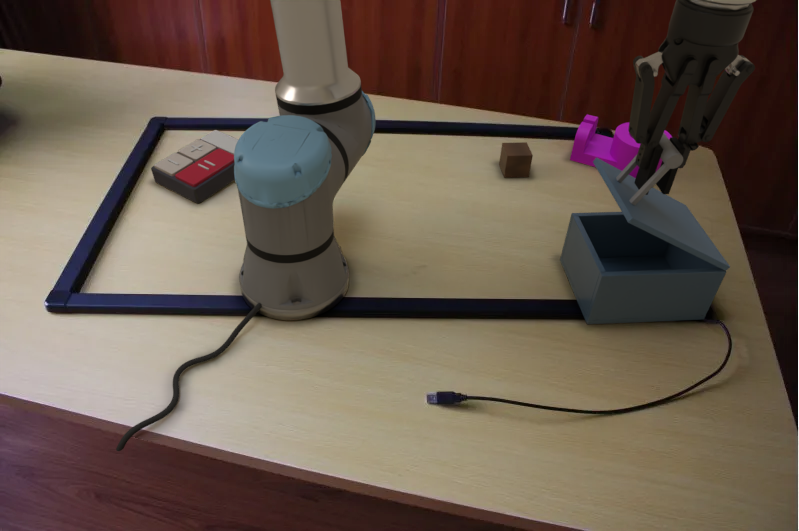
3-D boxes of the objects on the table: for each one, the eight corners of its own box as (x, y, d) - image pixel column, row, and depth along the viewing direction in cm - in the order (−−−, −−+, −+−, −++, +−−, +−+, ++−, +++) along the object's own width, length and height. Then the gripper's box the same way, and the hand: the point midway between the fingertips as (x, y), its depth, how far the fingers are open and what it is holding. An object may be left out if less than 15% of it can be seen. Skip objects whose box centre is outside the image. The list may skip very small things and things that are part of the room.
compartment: (586, 324, 87) (602, 276, 81) (559, 259, 97) (571, 212, 92) (703, 319, 89) (727, 271, 83) (664, 256, 99) (683, 209, 93)
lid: (628, 222, 76) (682, 166, 71) (592, 161, 86) (638, 108, 82) (725, 271, 83) (781, 222, 78) (682, 209, 93) (729, 162, 88)
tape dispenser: (666, 160, 120) (677, 130, 116) (656, 186, 114) (667, 155, 109) (582, 138, 126) (590, 109, 121) (568, 161, 119) (575, 131, 115)
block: (503, 177, 114) (507, 155, 111) (498, 164, 118) (502, 142, 115) (528, 177, 115) (532, 155, 112) (523, 163, 118) (526, 142, 115)
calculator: (148, 164, 107) (214, 125, 116) (154, 185, 110) (219, 145, 119) (193, 186, 103) (259, 144, 112) (199, 207, 106) (262, 164, 115)
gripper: (767, -15, 70) (695, 171, 85) (632, -15, 68) (584, 173, 84) (806, 10, 64) (721, 204, 79) (660, 10, 63) (603, 207, 78)
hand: (651, 188), depth 81 cm, fingers closed on lid, 2 cm apart
